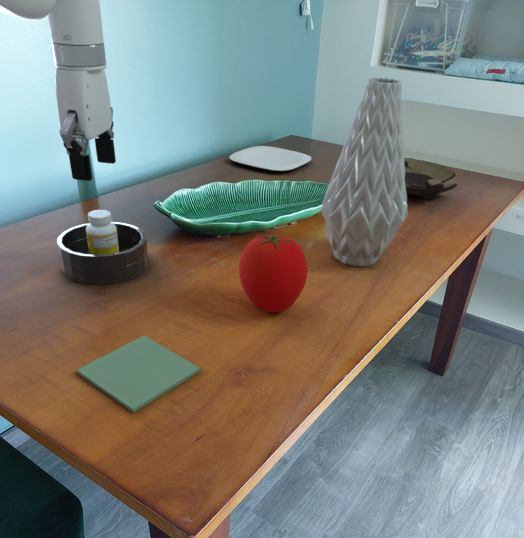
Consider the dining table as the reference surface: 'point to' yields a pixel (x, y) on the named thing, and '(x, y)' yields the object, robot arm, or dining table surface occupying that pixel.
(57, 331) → the dining table surface
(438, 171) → the oil lamp
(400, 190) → the vase
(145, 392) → the mat
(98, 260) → the pan
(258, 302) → the tomato
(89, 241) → the supplement bottle
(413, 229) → the dining table surface
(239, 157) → the plate
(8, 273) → the dining table surface
